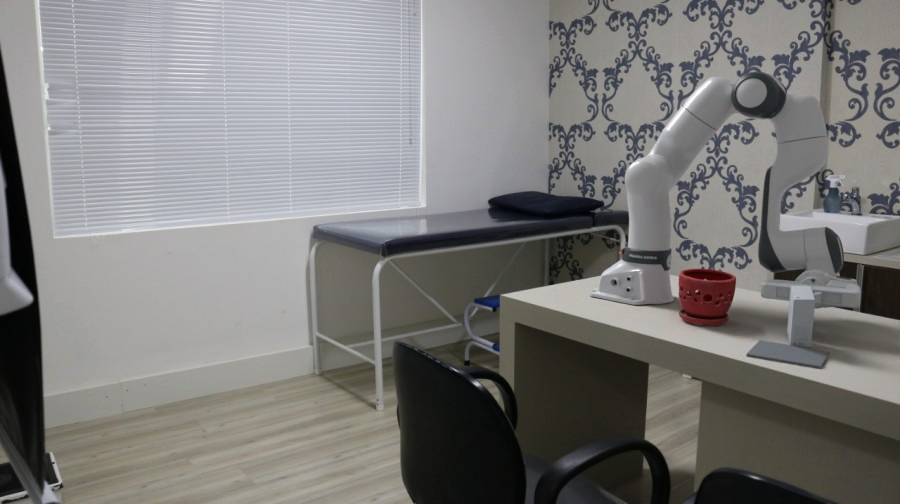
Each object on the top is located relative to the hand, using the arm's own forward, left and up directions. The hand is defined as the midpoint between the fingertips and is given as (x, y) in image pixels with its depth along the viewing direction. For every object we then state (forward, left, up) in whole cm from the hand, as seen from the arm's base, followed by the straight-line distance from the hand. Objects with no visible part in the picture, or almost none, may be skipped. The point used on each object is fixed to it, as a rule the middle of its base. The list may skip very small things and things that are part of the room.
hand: (805, 299), depth 161 cm
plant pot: (-23, +6, -10) cm, 26 cm away
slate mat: (-1, -10, -10) cm, 14 cm away
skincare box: (0, -1, -9) cm, 9 cm away
